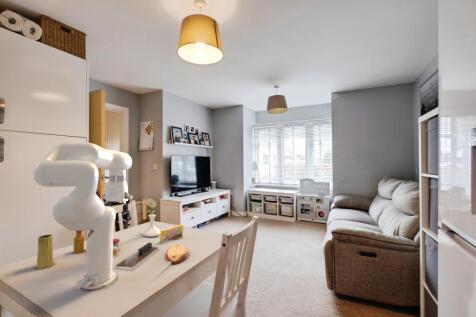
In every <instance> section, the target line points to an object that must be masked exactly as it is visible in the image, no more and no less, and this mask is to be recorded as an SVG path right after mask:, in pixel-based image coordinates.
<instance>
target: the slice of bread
mask: <svg viewBox="0 0 476 317" xmlns="http://www.w3.org/2000/svg"><path fill="white" fill-rule="evenodd" d="M188 257H189V248H187V246H185V245H184V244H178V243H172V244H171V245H170V246H169V247H168V249H167V251H166V253H165V260H166V261H167V262H168V263H169V262H170V263H171V264H172V265H177V264H180V263H182V262H183V261H184V260H186V259H188Z"/></svg>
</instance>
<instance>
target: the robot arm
mask: <svg viewBox="0 0 476 317" xmlns="http://www.w3.org/2000/svg"><path fill="white" fill-rule="evenodd" d="M132 165H133V158H132V157H131V155H130V154H128V153H127V152H123V151H119V150H113V149H110V148H109V149H108V148H104V147H102V146H100V145H98V144H95V143H93V142H77V141H76V142H75V141H74V142H73V141H72V142H71V141H64V142H61V143H58V144H57V145H55V146H54V147H53V148H52V149H51V150H50V151H49V152H48V153H47V154H46V155H44V157H43V158H42V159H41V160H40V161H38V163H37V164H36V166H35V168H34V171H33V179H34V181H35V183H36V184H38V185H39V186H41V187H45V188H47V187H48V188H53V187H54V188H55V187H56V188H58V187H59V188H63V187H67V188H69V187H70V188H71V187H74V189H73V190H71V191H70V192H69V194H68V195H67V196H66V195H65V196H62V197H60V198H59V199H57V200H56V201H55V202H54V203H53V206H52V216H53V220H55V222H56V223H58V224H59V225H60V226H62V227H64V228H66V229H67V230H69V231H76V230H82V231H90V230H94V232H93V233H92V234H91V235H90V237H89V238H88V237H87V240H86V242H85V243H86V244H85V245H86V248H85V250H86V251H85V275H84V276H83V279H82V280H81V281H80V282H78V283H76V284H75V289H77V290H80V289H81V288H82V289H84V290H97V289H101V288H104V287H107V284H108V283H111V282H113V281H114V280H115V279H116V278H117V272H115V271H113V267H114V264H113V263H114V262H113V261H114V255H113V239H114V230H115V229H114V228H115V223H116V218H117V217H116V216H117V212H116V210H115V208H114V207H112V202H114V203H115V202H117V203H119V202H121V203H122V204H123V205H122V213H123V214H126V213H128V212H129V205H130V204H131V202H132V200H133V199H134V196H133V195H132V194H130V193H129V191H128V190H129V188H128V183H127V181H126V178H127V176H126V172H127V171H128V170H130V169H131V168H132ZM99 169H101V170H104V171H108V176H107V179H108V181H107V182H106V186H105V193H103V194H102V195H101V198H100V197H99V196H98V194H96V193H97V189H98V185H99V175H100V174H99V173H100V172H99Z"/></svg>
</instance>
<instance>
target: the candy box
mask: <svg viewBox="0 0 476 317" xmlns="http://www.w3.org/2000/svg"><path fill="white" fill-rule="evenodd" d="M160 231H161V232H160V234H159V236H160V237H159V242H160V243H164V242H167V241H175V240H179V239H181V238H183V237H184V224H179V225H175V226H172V227H167V228H164V229H160Z"/></svg>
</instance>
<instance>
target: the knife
mask: <svg viewBox="0 0 476 317" xmlns="http://www.w3.org/2000/svg"><path fill="white" fill-rule="evenodd" d="M152 247H153V242H148V243H146V244H144V245H143V246H141V247H140V248H138V249H137V251H135V252H136V253H135V252H134V253H133V255H132V254H131V255H129V256H130V257H129V256H128V257H126V258H127V259H126V258H125V259H124V260H125V265H127V264H129V263H130V262H132V261H133V260H134V259H136V258H137V257H139V256H142V255H143V254H144V253H146V252H147V251H149V250H150V249H151V248H152Z"/></svg>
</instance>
